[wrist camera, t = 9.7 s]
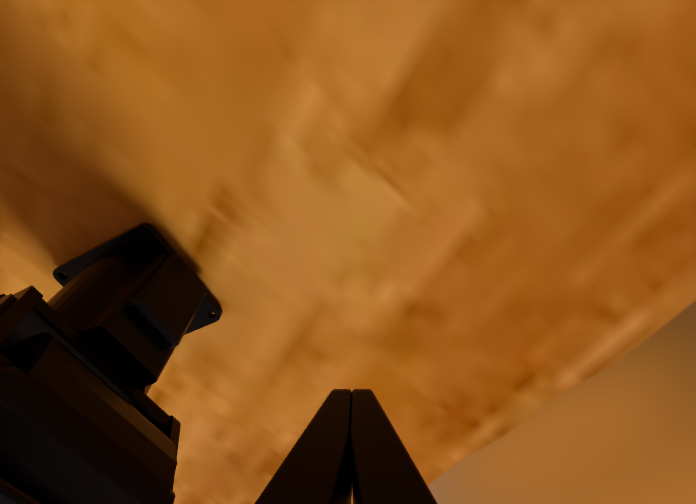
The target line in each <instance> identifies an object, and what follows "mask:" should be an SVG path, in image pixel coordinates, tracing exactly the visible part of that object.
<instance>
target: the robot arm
mask: <svg viewBox="0 0 696 504" xmlns="http://www.w3.org/2000/svg"><path fill="white" fill-rule="evenodd" d="M142 231H145V232H146V233H148V235H149V236H145V235H144V234H143V232H142ZM64 273H65V274H66V275H67V276H66V275H65V274H64ZM53 276H54V278H55V279H56V280H57V281H58V282H59V283H60V284H61V285H62V286H63V288H62V289H61V290H60V291H59V292H58V293H57V294H56V295H54V296H53V297H52V298H51V299H50V300H49V301H48V302H47V303H46V302H45V301H44V300H43V299H42V297H43V295H42V294H41V293H40V292H39V291H38V290H36V289H35V288H34V287H33V286H29V287H28V288H26V289H24V290H22V291H20V292H18V293H16V294H14V295H12V294H9V295H7V296H6V295H5V294H2V295H0V504H174V499H175V493H174V492H173V484H174V475H175V470H176V466H177V450H178V442H179V433H180V425H181V424H180V422H179V421H178V420H177V419H176V418H174V417H173V416H169V415H168V414H167V413H166V412H164V411H163V410H162V409H161V408H160V407H159V406H158V405H157V404H156V403H155V402H154V401H153V400H151V399H150V398H149V397H148V396H147V393H148V391H149V389H150V388H151V386H152V384H154V383H155V382H157V380H158V378H159V376H160V374H161V373H162V371H163V369H164V367H165V365H166V364H167V362H168V360H169V358H170V356H171V355H172V353H173V351H174V349H175V347H176V346H177V345H178V344H179V343H180V341H181V339H182V338H183V336H184V335H185V334H187V333H190V332H192V331H195V330H197V329H200V328H202V327H204V326H207V325H209V324H212V323H214V322H216V321H218V320H219V319H220V317H221V315H222V309H221V307H220V306H219V305H218V303H217V302H216V301H215V300H214V299H213V297H212V296H211V295H210V294H209V292H208V291H207V290H206V288H205V287H204V286H203V285H202V283H201V282H200V281H199V280H198V278H197V277H196V276H195V275H194V274H193V272H192V271H191V270H190V269H189V268H188V266H187V265H186V264H185V263H184V262H183V260H182V259H181V258H180V257H179V256H178V255H177V254H176V253H175V251H174V250H173V249H172V248H171V247H170V245H169V244H168V243H167V242H166V240H165V239H164V238H163V237H162V236H161V234H160V233H159V232H158V231H157V230H156V228H155V227H154V226H152V225H151V224H149V223H141V224H139V225H137V226H135V227H133V228H131V229H129V230H127V231H125V232H123V233H121V234H119V235H117V236H115V237H113V238H112V239H110V240H108V241H106V242H104V243H102V244H100V245H98V246H96V247H94V248H92V249H90V250H88V251H86V252H85V253H83V254H81V255H79V256H77V257H75V258H73V259H71V260H69V261H67V262H65V263H63V264H61V265H60V266H59V267H57V268H56V269H55V270H54V271H53ZM209 311H211V312H214V313H215V314H212V313H210V312H209ZM352 489H353V504H437V502H436V500H435V499H434V497H433V495H432V493H431V492H430V490H429V488H428V486H427V485H426V483H425V481H424V479H423V478H422V476H421V474H420V473H419V471H418V469H417V467H416V466H415V464H414V462H413V460H412V459H411V457H410V455H409V454H408V452H407V450H406V448H405V447H404V445H403V443H402V441H401V440H400V438H399V436H398V435H397V433H396V431H395V429H394V428H393V426H392V424H391V422H390V421H389V419H388V417H387V416H386V414H385V412H384V410H383V409H382V407H381V405H380V403H379V402H378V400H377V398H376V397H375V395H374V393H373V392H372V390H370V389H354V390H353V391H352V392H351V390H350V389H334V390H332V391H331V392H330V394H329V395H328V397H327V398H326V400H325V401H324V403H323V404H322V406H321V407H320V408H319V410H318V411H317V413H316V414H315V416H314V417H313V419H312V420H311V422H310V423H309V425H308V426H307V428H306V429H305V430H304V432H303V433H302V435H301V436H300V438H299V439H298V441H297V442H296V444H295V445H294V447H293V448H292V450H291V451H290V452H289V454H288V455H287V457H286V458H285V460H284V461H283V463H282V464H281V466H280V467H279V469H278V470H277V472H276V473H275V474H274V476H273V477H272V479H271V480H270V482H269V483H268V485H267V486H266V488H265V489H264V491H263V492H262V494H261V495H260V496H259V498H258V499H257V501H256V502H255V504H351V497H352Z"/></svg>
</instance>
